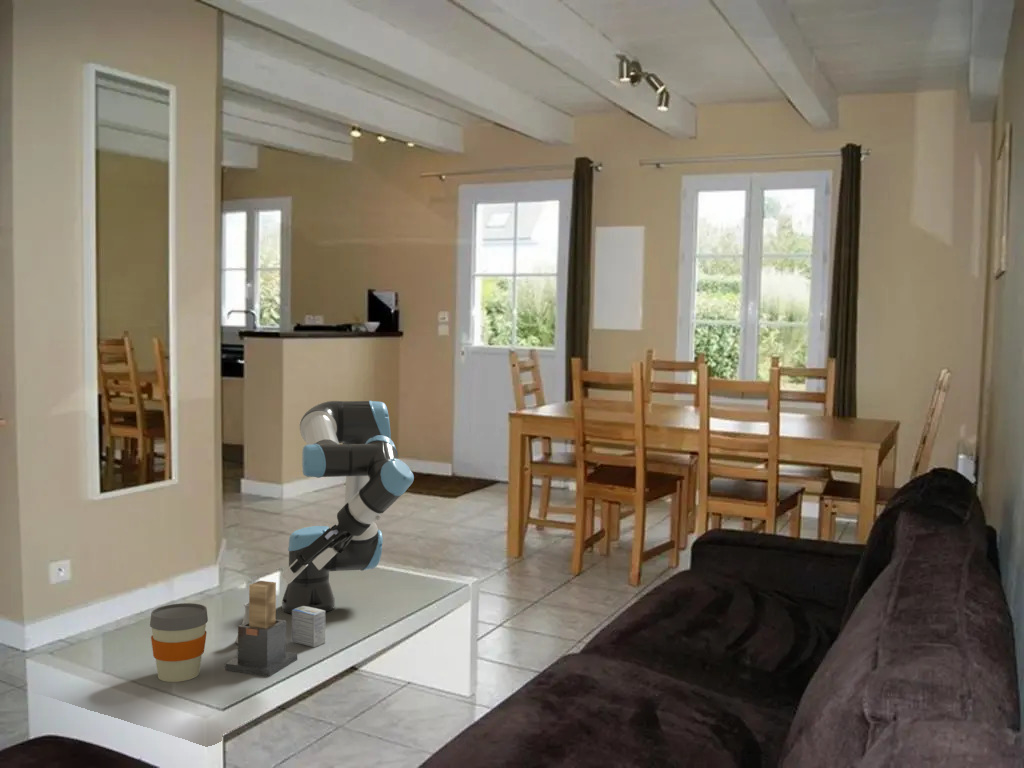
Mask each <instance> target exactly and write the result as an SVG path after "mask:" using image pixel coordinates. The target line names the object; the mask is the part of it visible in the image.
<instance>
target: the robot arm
mask: <svg viewBox="0 0 1024 768" xmlns="http://www.w3.org/2000/svg"><path fill="white" fill-rule="evenodd" d="M299 431H300V436H301V437H302V439H303V440H304V442H306V444H305V445H304V446H303V448H302V454H301V459H302V460H301V466H302V474H303V476H305V477H309V478H310V477H311V478H318V479H319V478H331V477H332V478H333V477H335V478H336V477H337V478H338V477H345V490H344V491H345V492H344V505H343V506H342V508H341V509H340V510H338V512H337V514H336V519H337V522H338V523H337V524H334V525H333V526H330V527H329V526H326V525H313V526H306V527H302V528H299V529H297V530H295V531H293V532H291V534H290V536H289V539H288V547H287V551H288V567H287V568H286V569H285V570H284V571H283V572H282V573H281V575H280V576H281V577H282V578H283V579H284V580H285V582H286V583H287V585H286V588H285V591H284V594H283V597H282V601H281V610H282V611H283V612H284V613H287V614H290V615H292V610H293V609H295V608H298V607H301V606H307V607H312V608H317V609H321V610H325V613H327V612H326V611H328V612H330V611H332V610H333V609H334V608H335V607H334V606H336V604H335V603H336V602H335V601H336V600H335V599H336V598H335V595H334V592H333V590H332V585H331V583H330V572H344V571H345V572H346V571H366V570H373V569H375V568H377V566H378V565H379V564H380V562H381V557H382V552H383V540H384V538H383V533H382V531H381V529H378V525H377V523H376V521H381V519H382V518H381V515H383V513H385V512H386V511H387V510H388V509H389V508H390V507H391V506H392V505H393V504H394V503H395V502H396V501H397V500H398V499H399V498H400V497H401V496H402V495H404V494H405V493H406V491H407V490H408V489H409V487H411V485H412V484H413V482H414V479H415V476H414V473H413V472H412V471H411V468H410V467H409V465H408V464H407V463H405V462H404V461H402V459H399V454H398V451H397V448H396V445H395V443H394V441H393V440H392V439H391V438H392V437H391V435H392V434H391V424H390V415H389V411H388V407H387V405H386V403H385V402H383V401H375V400H373V401H372V400H371V399H370V400H330V401H325V402H321V403H318V404H317V405H315V406H313V407H311V408H309V410H307V411H306V412H305V413H304V415H303V416H302V417H301V420H300V424H299ZM333 607H334V608H333ZM332 608H333V609H332ZM331 609H332V610H331ZM329 610H330V611H329Z"/></svg>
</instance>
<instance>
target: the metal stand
mask: <svg viewBox="0 0 1024 768" xmlns="http://www.w3.org/2000/svg"><path fill="white" fill-rule="evenodd" d="M237 636H238V644H237V657H234V658H233V659H232V660H229V661H227V662H226V663H224V665H225V666H224V668H225V671H229V672H230V671H231V672H238V673H245V674H250V675H258V676H264V677H271V676H273V675H274V674H276V673H278V672H279V671H281V670H283V669H284V668H286V667H288V666H289V665H291V664H292V663H294V662H295V661H298V653H295V652H288V651H287V620H285V619H276V621H275V624H274V625H272V626H270V627H268V628H258V627H251V626H249V621H248V622H246V623H244V624H240V625H237Z"/></svg>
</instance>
